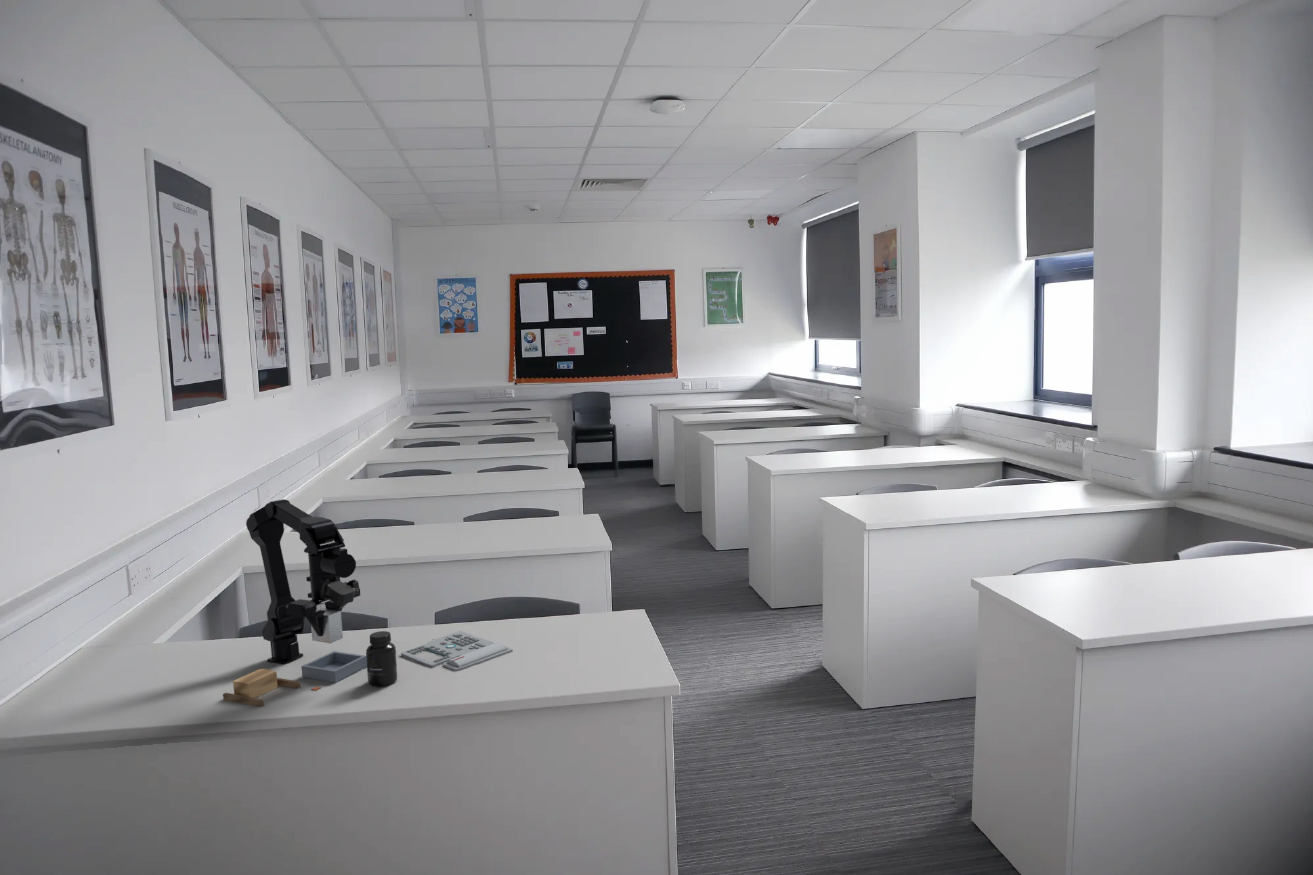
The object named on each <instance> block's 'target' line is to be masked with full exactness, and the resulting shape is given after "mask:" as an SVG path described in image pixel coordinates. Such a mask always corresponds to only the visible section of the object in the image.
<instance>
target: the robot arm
mask: <svg viewBox="0 0 1313 875" xmlns="http://www.w3.org/2000/svg"><path fill="white" fill-rule="evenodd" d="M245 524H246V525H245V526H246V529H247V530H248V533H249V536H250V539H251V540H252V541H253V542H254V543H255V544H257V546H258V547H259V549H260V554H261V558H262V563H263V568H264V572H265V578H266V582H267V587H268V592H269V596H270V604H269V606H268V609H267V611H266V617H267V621H266V623H265V625H264V627H263V629H262V630H261V634H262V638H263V640H265V641H268V642H269V644H270V651H271V652H270V653H271V657H269V658H267V660H266V661H267V662H269V663H275V664H276V663H277V664H282V665H283V664H284V665H287V664H288V663H290V662H293V661H294V660H298V659H300V658H301V657H304V653H301V652H300V647H299V641H298V635H300V634H304V629H305V628H304V627H305V621H306V620H307V621H308V622H309V624H310V626H311V625H312V627H313V629H314V630H315V632H316V633H317V635H318V636H320V637H321V636H322V634H323V625H322V616H323V614H324V613H325V611H324V610H321V609H322V605H324V606H325V607H324V608H325V609H332V610H339V611H341V612H342V611H343V608H345V607H346V605H348V604H349V603H350V604H351V603H353V602H354V599H355V598H357V597H360V596H361V588H360V583H359V581H358V580H357V579H355V578H354V579H351V580H349V581H344V582H342V581H341V579H347V578H349V577H350V576H351V575H353V574H354V572H355V570H356V567H357V561H356V560H355V557H354V556H353V555H352V554H350V553H348V548H345V547H346V544H345V542H344V538H343V536H342V535H341V533H340V531H339V530H338V527H337V525H336V524H335V522H334V521H333V520H332V519H329V518H327V517H323V516H322V517H320V516H312V515H310V514H308V513H307V512H306V511H304V510H302V509H300V508H299V507H297V506H295V505H294V504H292V503H291V502H290V501H289V500H288V499H285V498H284V499H278V500H272V501H269V502H268V503H266V504H265V505H264V506H263V507H261V508H259V509H257V510H256V511H254V512H252V513H250V514H249V517H248V518H247V519H246V521H245ZM284 525H286V526H288V528H290V529H292V530H294V531H296V532H297V533H298V534H299V540H300V541H301V542H302V543H303V544H305V546H306V547H305V548H304V549H303V552H304V553H305V554H308V556H307V557H308V566H309V567H308V568H309V575H308V576H307V577H306V582H308V583H309V582H310V592H308V593H307V598H308V599H310V600H307V599H301V598H299V599H297V600H296V599H295V598H294V597H292V593H291V588H290V585H289V584H290V583H289V580H288V574H287V569H286V564H285V560H284V555H283V550H282V547H281V546H282V545H281V540H282V538H283V536H284V532H285V526H284ZM305 618H306V620H305Z"/></svg>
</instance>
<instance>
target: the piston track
mask: <svg viewBox="0 0 1313 875" xmlns="http://www.w3.org/2000/svg"><path fill="white" fill-rule="evenodd" d="M277 684H278V686H280V687H286V688H291V687H293V689H300V688H301V687H302V685H301V681H299V680H292V679H289V678H288V679H287V678H286V679H285V678H281V677H277ZM321 689H322V687H321V686H314V687H313V688H311V689H310V690H311V691H314V690H315V691H316V692H317V691H320V690H321ZM222 697H223V698H222V699H223V701H227V702H233V703H239V704H242V705H243V704H244V705H249V706H253V707H254V706H255V707H260V708H262V707H264V706H265V703H264V700H265V699H263V698H258V697H256V698H253V697H247V696H242V695H236V694H234V693H229V692H224V693H222Z"/></svg>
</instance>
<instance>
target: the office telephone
mask: <svg viewBox="0 0 1313 875" xmlns="http://www.w3.org/2000/svg"><path fill="white" fill-rule="evenodd" d="M424 650H425V651H429V650H430V651H429V652H432V653H435V652H436V654H438V655H440V656H443V657H441V658H437V659H435V660H433V661H430V660H428V659H424V658H422V657H419V656H417V654H419V653H418V652H420V653H422V651H423V652H425V651H424ZM512 652H513V648H510V647H508V646H507V645H506V644H504V643H502V642H493V641H490V640H488V639H484V638H481V637H478V636H476V635H472V634H470V633H467V632H465V631H463V630H459V631H455V632H453V633H450V634H447V635H444V636H441V637H438V638H435V639H432V640H430V641H428V642H427V643H425V644H423V645H419V646H416V647H414V648H411V649H408V650H404V651H401V652H400V655H401V657H402V656H403V658H404V659H407V658H408V659H407V660H410V661H412V660H413V662H415V663H417V662H419V663H418V664H420V665H423V666H426V667H428V666H429V667H428V668H431V669H432V668H435V667H438V666H441V665H442V667H443V668H446V669H448V670H451V671H453V672H459V671H463V670H465V669H467V668H470V667H473V666H476V665H478V664H479V665H480V664H481V663H485V662H487V661H490V660H493V659H495V658H498V657H501V656H504V655H506V654H510V653H512ZM416 653H417V654H416ZM413 654H414V655H413ZM440 664H441V665H440Z"/></svg>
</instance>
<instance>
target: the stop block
mask: <svg viewBox="0 0 1313 875" xmlns="http://www.w3.org/2000/svg"><path fill="white" fill-rule="evenodd" d="M321 610H324V611H325V613H324V614H323V616H322V625H323V634H322V636H321V637H320V636H318V635H317V633H316V632H315V630H314V629H313V627H312V625H311V624H310V628H311V641H312V642H313V641H314V642H318V643H319V642H320V643H324V644H325V643H326V644H333V643H335V642H337V641H340V640H341V639H344V637H343V636H344V634H343V624H342V611H339V610H332V609H326V607H324V608H323V607H321Z"/></svg>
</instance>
